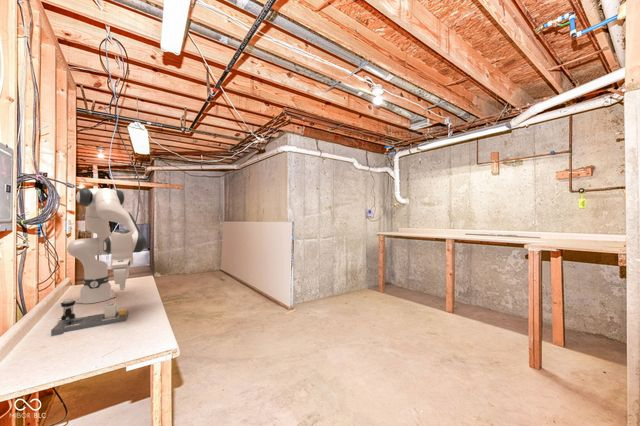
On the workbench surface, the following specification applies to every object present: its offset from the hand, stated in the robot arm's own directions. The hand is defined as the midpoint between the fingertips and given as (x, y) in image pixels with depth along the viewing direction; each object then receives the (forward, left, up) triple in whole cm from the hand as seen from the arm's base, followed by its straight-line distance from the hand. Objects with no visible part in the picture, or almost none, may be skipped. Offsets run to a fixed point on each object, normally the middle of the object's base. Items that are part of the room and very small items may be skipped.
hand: (122, 289), depth 130 cm
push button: (-15, -24, -16) cm, 33 cm away
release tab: (0, 0, -14) cm, 14 cm away
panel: (0, -11, -16) cm, 19 cm away
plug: (0, -5, -15) cm, 16 cm away
